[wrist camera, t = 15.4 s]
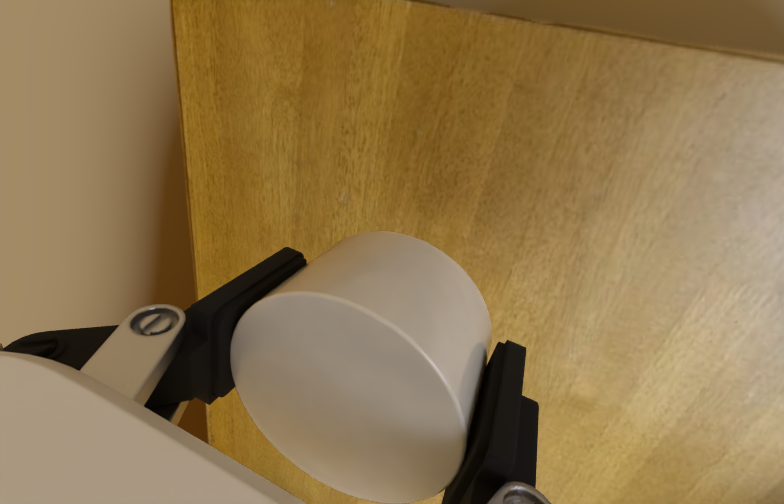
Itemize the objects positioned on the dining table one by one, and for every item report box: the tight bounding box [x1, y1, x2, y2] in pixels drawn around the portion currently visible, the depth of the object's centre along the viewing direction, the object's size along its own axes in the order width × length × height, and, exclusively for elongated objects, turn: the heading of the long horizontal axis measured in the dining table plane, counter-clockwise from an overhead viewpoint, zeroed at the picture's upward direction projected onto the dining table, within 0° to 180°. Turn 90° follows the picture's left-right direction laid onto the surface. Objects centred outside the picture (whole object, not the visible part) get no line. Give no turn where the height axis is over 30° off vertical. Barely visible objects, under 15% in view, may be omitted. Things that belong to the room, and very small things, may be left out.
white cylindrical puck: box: [230, 231, 492, 504], centre depth 11 cm, size 6×6×4 cm
